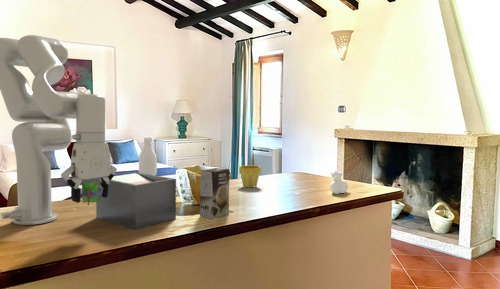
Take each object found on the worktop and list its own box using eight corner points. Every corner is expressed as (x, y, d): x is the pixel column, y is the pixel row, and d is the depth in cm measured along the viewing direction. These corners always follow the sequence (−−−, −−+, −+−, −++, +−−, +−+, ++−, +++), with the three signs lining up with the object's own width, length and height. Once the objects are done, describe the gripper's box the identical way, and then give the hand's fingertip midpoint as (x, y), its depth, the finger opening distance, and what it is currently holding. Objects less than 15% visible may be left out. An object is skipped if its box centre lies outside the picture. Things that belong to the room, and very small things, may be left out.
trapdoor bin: (135, 229, 118) (135, 185, 117) (96, 217, 130) (95, 177, 129) (175, 218, 131) (175, 178, 130) (136, 208, 143) (136, 172, 142)
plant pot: (236, 188, 186) (236, 167, 185) (241, 184, 196) (242, 164, 195) (257, 189, 183) (258, 168, 183) (262, 185, 194) (262, 165, 193)
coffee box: (214, 219, 131) (214, 171, 130) (199, 216, 134) (199, 170, 133) (229, 213, 139) (230, 168, 137) (215, 211, 142) (215, 167, 141)
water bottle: (160, 198, 160) (160, 137, 158) (150, 202, 153) (150, 138, 151) (145, 197, 162) (145, 137, 160) (135, 200, 156) (134, 138, 154)
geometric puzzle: (99, 200, 108) (102, 174, 112) (72, 200, 106) (77, 174, 110) (102, 210, 114) (105, 185, 118) (77, 210, 112) (81, 184, 116)
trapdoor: (128, 195, 122) (128, 191, 122) (102, 180, 130) (103, 177, 130) (160, 188, 132) (161, 185, 132) (135, 175, 140) (135, 173, 140)
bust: (344, 195, 183) (332, 175, 187) (356, 188, 178) (343, 167, 183) (330, 199, 175) (317, 177, 179) (342, 191, 170) (329, 169, 174)
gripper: (67, 140, 101) (67, 207, 103) (125, 138, 115) (124, 196, 117) (53, 138, 105) (53, 201, 107) (110, 135, 119) (109, 192, 121)
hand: (90, 198), depth 112 cm, fingers closed on geometric puzzle, 7 cm apart
